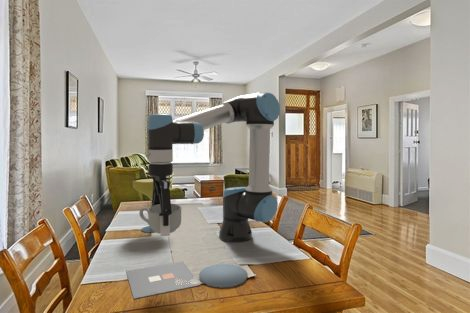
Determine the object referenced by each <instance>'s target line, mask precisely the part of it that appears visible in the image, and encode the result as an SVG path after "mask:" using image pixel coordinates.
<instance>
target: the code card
mask: <svg viewBox="0 0 470 313" xmlns="http://www.w3.org/2000/svg"><path fill="white" fill-rule="evenodd" d="M125 272H126V276H127V279H128V283H129V288H130V290H131V294H132V298H133V300H136V299H137V300H138V299H141V298H146V297H150V296H156V295H161V294H165V293H171V292H175V291H181V290H185V289H189V288H195V287H200V286H201V284H199V283H200V282H199V283H198V284H191V283H190V282H191V281H190V280H191V279H194V278H193V277H195V276H194V274H193V273H192V271H191V270H190V269H189V267H188V266H187V264H186V263H185V262H184V261H177V262H170V263H165V264H158V265H154V266H147V267H142V268H135V269H129V270H126V271H125ZM176 278H177V279H178V280H179V279H180V280H181V279H182V280H183V282H184V281H185V280H186V281H187V282H186V281H185V282H184V283H183V282H182V285H181V283H180V284H179V285H178V283H177V285H176V283H175V281H176V280H177V279H176ZM175 279H176V280H175ZM182 280H181V281H182ZM181 281H180V282H181ZM188 281H190V282H188ZM178 282H179V281H178ZM186 283H187V284H186ZM188 283H189V284H188ZM199 285H200V286H199Z"/></svg>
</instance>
